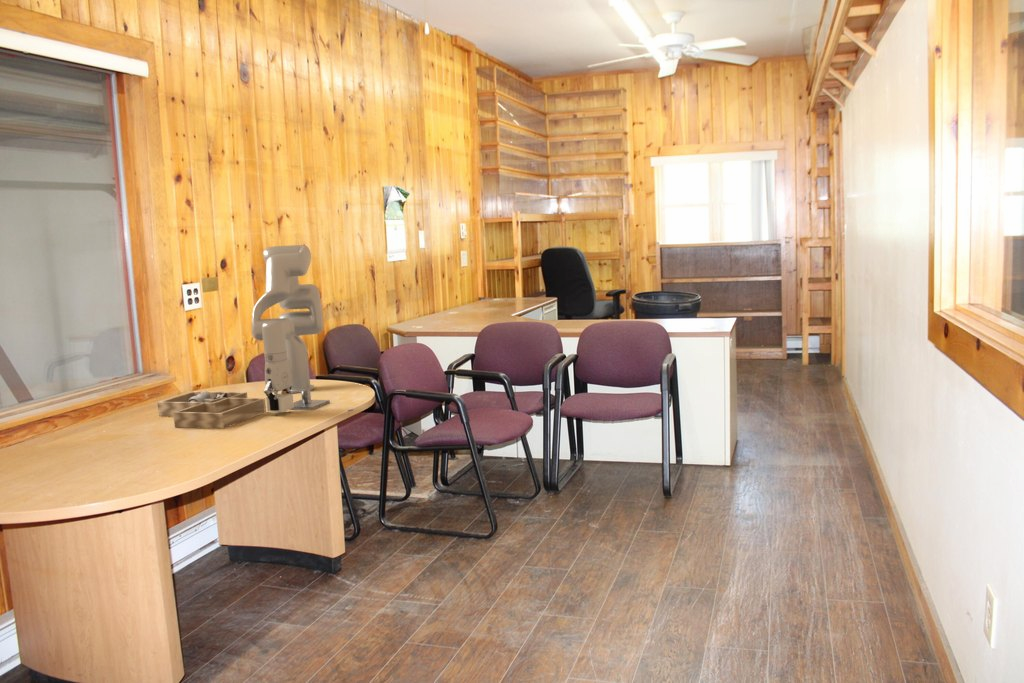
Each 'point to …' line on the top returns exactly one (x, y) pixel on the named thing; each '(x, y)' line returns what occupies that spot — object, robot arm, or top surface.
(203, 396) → the clip-on lamp
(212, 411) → the tray
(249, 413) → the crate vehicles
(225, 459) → the top surface
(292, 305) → the robot arm
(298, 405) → the plate
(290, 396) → the grey block
